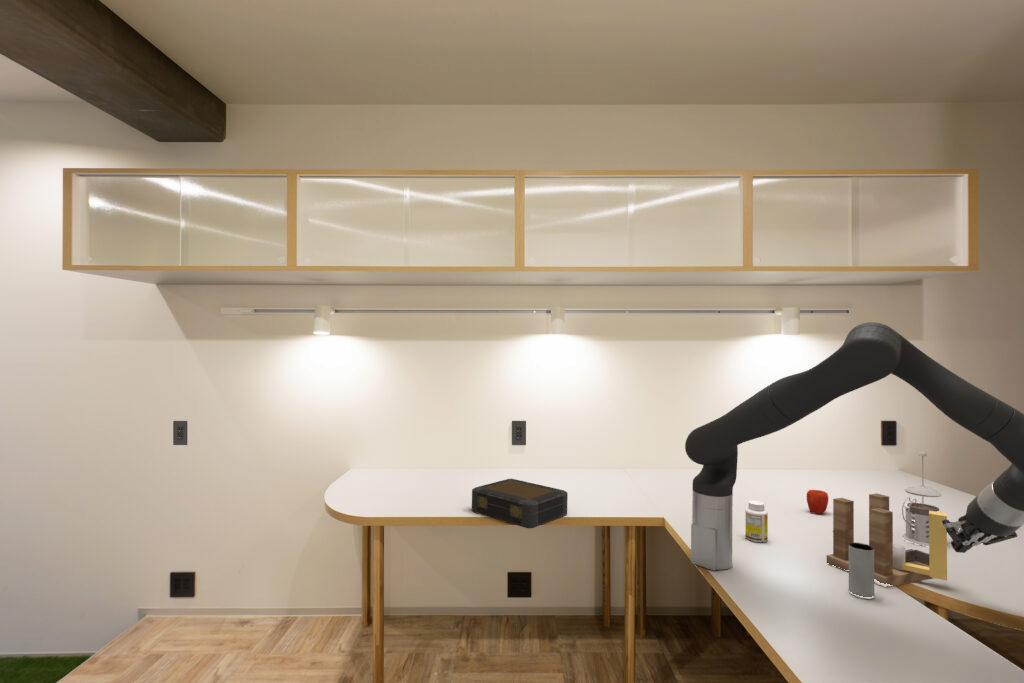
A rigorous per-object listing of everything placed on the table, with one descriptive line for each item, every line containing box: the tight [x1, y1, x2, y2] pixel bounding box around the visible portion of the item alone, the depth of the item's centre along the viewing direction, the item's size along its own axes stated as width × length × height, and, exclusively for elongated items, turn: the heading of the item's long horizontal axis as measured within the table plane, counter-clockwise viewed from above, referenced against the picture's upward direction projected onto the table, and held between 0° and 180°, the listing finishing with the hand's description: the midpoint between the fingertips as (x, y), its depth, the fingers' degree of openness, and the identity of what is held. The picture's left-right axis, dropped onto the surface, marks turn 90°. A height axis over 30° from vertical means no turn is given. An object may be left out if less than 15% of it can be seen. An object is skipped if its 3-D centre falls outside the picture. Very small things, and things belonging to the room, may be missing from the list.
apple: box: [806, 489, 829, 515], centre depth 168 cm, size 6×6×8 cm
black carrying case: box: [471, 478, 569, 529], centre depth 163 cm, size 25×20×8 cm
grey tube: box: [848, 541, 875, 597], centre depth 110 cm, size 4×4×10 cm
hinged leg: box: [893, 511, 948, 581], centre depth 117 cm, size 10×3×14 cm, turn 51°
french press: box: [901, 451, 942, 547], centre depth 143 cm, size 10×12×25 cm
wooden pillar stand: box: [826, 493, 932, 587], centre depth 123 cm, size 18×14×16 cm
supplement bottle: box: [744, 500, 769, 543], centre depth 142 cm, size 6×6×10 cm
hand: (957, 548), depth 109 cm, fingers closed
